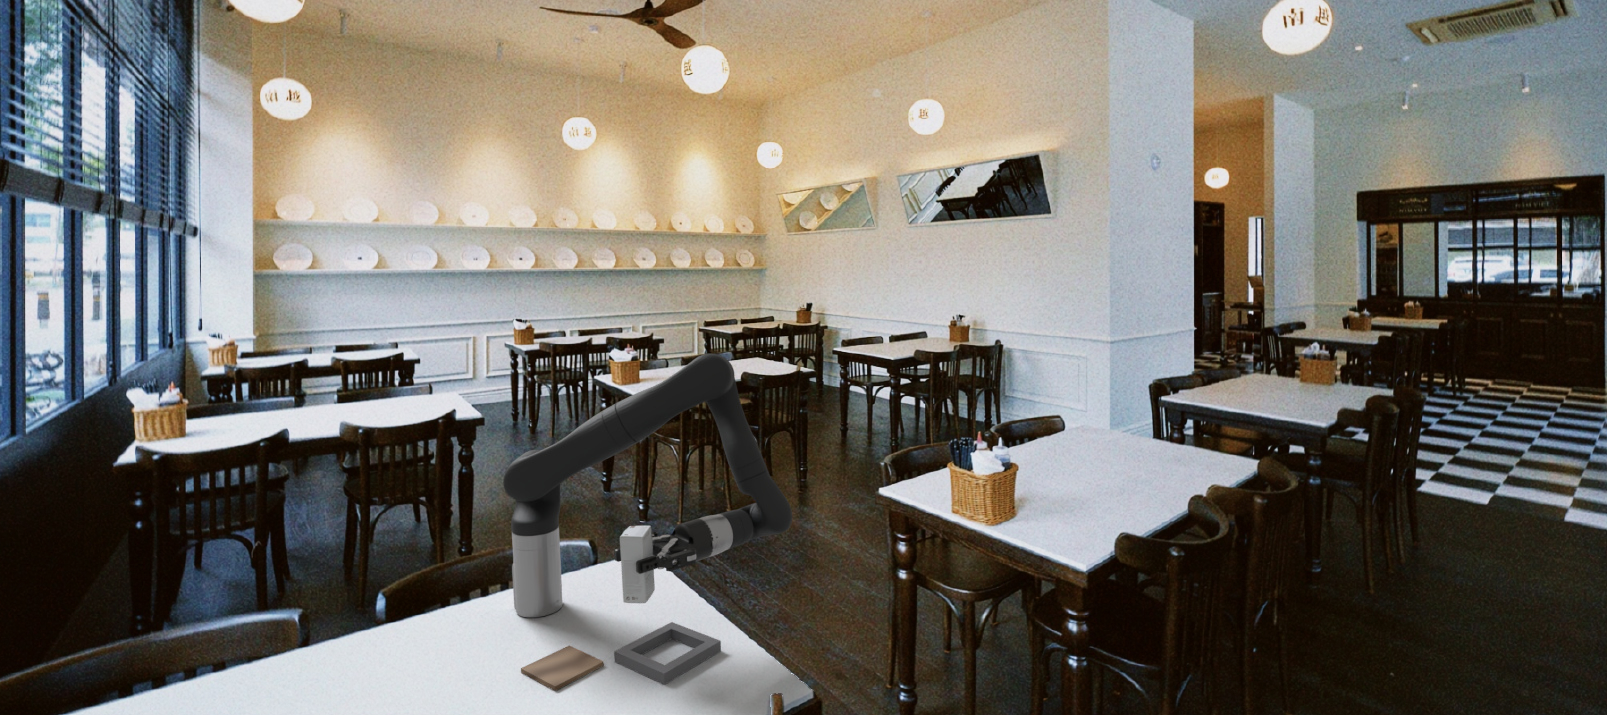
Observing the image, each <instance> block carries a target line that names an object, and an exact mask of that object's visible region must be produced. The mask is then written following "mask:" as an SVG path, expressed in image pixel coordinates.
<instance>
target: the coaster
mask: <svg viewBox="0 0 1607 715" xmlns="http://www.w3.org/2000/svg"><path fill="white" fill-rule="evenodd" d="M604 665H605V663H604V660H601V659H600V658H597V657H595V656H592V655H590V654H589V653H586V652H584V651H583V650H580V649H578V648H576V647H574V646H571V645H567V646H564V647H563V648H560V649H559V650H556V651H554V652H553V653H550V654H548V655H546V656H543V657H542V658H539V659H538V660H536V661H533V662H531V663H529V664H527V665H525V666H523V667H521V668H520V673H521V674H523V675H525V676H527V677H529V679H533V680H534V681H536V682H538V683H540V684H542V685H544V686H545V687H547V688H549V689H551V690H553V691H555V692H556V691H558V690H560V689H561V688H563V687H565V686H567V685H570V684H572V683H574V682H575V681H577V680H580V679H581V678H583V677H585V676H587V675H588V674H591V673H593V672H594V671H596V670H598V669H600V668H602V667H604Z"/></svg>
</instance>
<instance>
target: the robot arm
mask: <svg viewBox="0 0 1607 715" xmlns="http://www.w3.org/2000/svg"><path fill="white" fill-rule="evenodd" d="M735 376H736V375H735V370H734V367H733V365H732V363H731V362H730V361H729V359H727V358H726V357H724V356H722V355H721V354H718V353H717V354H716V353H704V354H702V355H698V356H697V357H696V358H694V359H693V360H691V361H690V362H689V363H688V364H686V365H685V366H684V367H682V368H681V369H679V370H678V371H677V372H675V373H673V374H672V375H671V376H669V377H668V378H665V379H664V380H663V381H661V382H659V383H656V384H655V385H653V386H650V387H648V388H646V389H643V390H640V391H638V392H636V393H634V394H632V395H630V396H628V397H626V398H624V399H621V400H620V401H618V402H616V403H614V404H612V405H610V406H608V407H607V408H605V409H603V410H602V411H599V413H597V414H595V415H594V416H592V417H590V418H589V419H588V420H586V421H585V422H583V423H582V424H581V425H579V426H578V427H577V428H575V429H574V430H573V431H571V432H570V433H569V434H568V435H567V436H565V437H564V438H562V439H560V440H559V441H557V442H555V443H554V444H552V445H550V446H547V447H546V448H542V449H532V450H531V449H530V450H529V451H526V452H524V453H523V454H521V455H520V456H519V457H517V458H516V459H515V460H513V461H512V462H511V463H510V465H508V467H507V469H506V471H505V472H504V475H503V478H502V479H503V480H502V484H503V489H504V491H505V493H506V494H507V496H509V497H510V498H511V499H513V500H515V503H514V504H515V506H514V511H513V512H512V517H511V522H510V524H511V539H512V540H511V541H512V542H511V543H512V559H513V563H512V564H511V573H512V574H511V575H512V589H513V592H512V593H513V605H514V606H513V608H515V612H516V614H517V615H518V616H520V617H524V618H539V617H544V616H549V615H552V614H554V613H556V612H558V611H559V610H560V609H561V608H562V607H563V583H562V566H561V565H562V563H561V542H560V526H559V519H560V513H561V484H562V483H564V482H565V481H566V480H568V479H569V478H571V477H572V476H574V475H576V474H577V473H579V472H582V471H583V470H585V469H588V468H589V467H592V466H595V465H597V464H600V463H601V462H604V461H606V460H607V459H609V458H612V457H614V456H615V455H618V454H619V453H621V452H623V451H625V450H628V449H629V448H631V447H633V446H634V445H637V444H638V443H640V442H642V441H643V440H644V439H646V438H648V437H649V436H651V435H652V434H654V433H655V432H656V431H657V430H658V431H659V429H661V428H662V427H663V426H664V425H665V424H667V423H668V422H669V421H671V419H673V418H675V417H676V416H678V415H680V414H681V413H683V412H686V411H687V410H690V409H692V408H693V407H696V406H698V405H701V404H703V403H706V404H707V406H708V408H709V410H710V412H711V413H712V416H713V418H714V421H715V423H716V426H717V429H718V432H719V436H720V439H721V443H722V447H723V450H724V454H725V458H726V460H727V463H728V466H729V469H730V470H731V474H732V476H733V479H734V481H735V484H736V486H737V488H738V491H739V492H740V493H741V494H742V495H746V496H750V497H752V499H753V500H754V501H755V502H754V503H751V504H747V505H745V506H742V507H741V508H740V507H739V508H738V509H733V510H728V511H725V512H721V513H717V514H713V515H712V514H711V515H706V516H702V517H700V518H696V519H692V520H688V521H684V522H682V523H679V524H677V525H675V527H674V530H673V531H672V533H671V534H662V535H660V536H659V531H651V536H652V550H653V556H650V557H647V558H644V559H641V560H638V561H637V562H636V572H637V573H639V574H641V573H644V572H647V571H651V570H656V569H657V570H664V569H665V571H666V572H672V571H676V570H679V569H682V568H686V567H688V566H692V565H695V564H697V562H699V561H701V560H704V559H707V558H711V557H713V556H717V555H718V554H721V553H723V552H725V551H727V550H730V549H733V548H736V547H739V546H742V545H745V544H746V543H747V542H749V541H751V540H755V539H756V538H757V539H758V538H760V537H762V538H763V537H766V536H773V535H779V534H782V533H784V532H787V531H788V530H789V528H790V527H791V525H792V523H793V511H792V507H791V504H790V502H789V500H788V499H787V497H786V496H785V495H784V493H783V491H782V490H781V489H780V487H779V486H778V485H777V483H776V482H775V480H774V479H773V478H772V477H771V475H770V473H769V469H768V468H767V465H766V463H765V460H764V458H763V455H762V452H761V451H760V448H759V445H758V444H757V441H756V439H755V436H754V433H753V431H752V430H751V427H750V425H749V422H748V420H747V418H746V415H745V412H744V410H743V406H742V403H741V400H740V397H739V392H738V387H737V383H736V378H735ZM613 552H614V556H613V558H614V560H615V561H616V562H621V551H620V547H618V548H616V549H615V550H614V551H613Z"/></svg>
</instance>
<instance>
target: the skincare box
mask: <svg viewBox="0 0 1607 715" xmlns="http://www.w3.org/2000/svg"><path fill="white" fill-rule="evenodd" d="M651 532H652V526H651V525H630V526H628V527H627V528H626V529H625V530H623V532H622V534H621V535H620V536H619V548H620V551H621V561H620V563H621V564H620V565H621V582H622V584H621V585H622V598H623V603H624V604H646V603H647V602H648V601H649V600H650V598H651V597H652V595H653V594H654V592H655V572H654V570H655V569H654V570H651V571H647V572H644V573H641V574H639V573H637V572H636V562H637V561H638V560H641V559H644V558H647V557H650V556H653V548H652V536H651Z"/></svg>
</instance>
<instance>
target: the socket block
mask: <svg viewBox="0 0 1607 715" xmlns="http://www.w3.org/2000/svg"><path fill="white" fill-rule="evenodd" d="M670 640H673V641H677V642H679V643H681V644H684V645H686V646H689V647H691V648H693V649H691V650H688V651H686V652H685V653H683V654H682V655H680V656H678V657H676V658H675V659H673V660H671V661H670V662H668V663H666V664H664V663H661V662H658V661H656V660H654V659H651V658H649V657H647V656H645V655H644V654H646V653H647V652H650V651H651V650H653V649H655V648H657V647H659V646H661V645H662V644H664V643H667V642H668V641H670ZM721 648H722V641H721V640H719V639H716V638H714V637H712V636H709V635H706V634H704V633H701V632H699V631H696V630H693V629H691V628H688V627H685V626H684V625H681V624H678V623H676V622H673V621H671V622H669V623H667V624H665V625H663V626H662V627H659V628H657V629H655V630H653V631H651V632H648V633H647V634H645V635H642V636H641V637H640V638H638V639H636V640H633V641H632V642H630V643H628V644H625V645H624V646H622V647H620V648H618V649H616V650H614V652H613V654H614V655H613V656H614V659H613V660H614V663H615V664H616V663H617V664H618V665H620V666H623V667H625V668H627V669H630V670H631V671H634V673H635V672H636V673H638V674H640V675H642V676H645V677H646V678H648V679H651V680H653V681H655V682H657V683H659V684H662V685H664V686H665V685H666V684H668V683H670V682H672V681H673V680H675V679H677V678H678V677H679V676H681V675H683V674H686V673H687V672H688V671H690V670H692V669H693V668H695V667H696V666H699V665H700V664H702V663H703V662H705V661H707V660H709V659H710V658H712V657H714V656H716V655H717V654H718V653H721V652H722V649H721Z"/></svg>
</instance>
